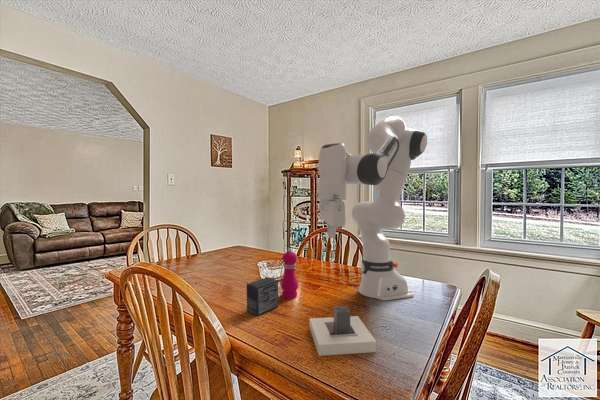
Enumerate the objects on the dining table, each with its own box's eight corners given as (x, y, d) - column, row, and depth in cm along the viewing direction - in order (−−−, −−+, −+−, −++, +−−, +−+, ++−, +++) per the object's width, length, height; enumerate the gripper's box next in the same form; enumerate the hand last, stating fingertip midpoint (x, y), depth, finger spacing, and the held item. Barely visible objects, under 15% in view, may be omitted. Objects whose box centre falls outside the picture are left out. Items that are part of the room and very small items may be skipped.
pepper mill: (296, 300, 118) (296, 250, 117) (278, 298, 120) (278, 249, 119) (299, 293, 125) (300, 246, 124) (283, 292, 127) (283, 246, 126)
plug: (346, 335, 91) (346, 306, 90) (349, 341, 87) (350, 311, 86) (333, 335, 90) (333, 306, 90) (336, 342, 86) (336, 312, 86)
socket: (357, 324, 97) (357, 315, 97) (376, 352, 81) (376, 340, 81) (309, 327, 95) (309, 317, 95) (318, 355, 79) (318, 343, 79)
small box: (266, 302, 115) (266, 276, 115) (279, 307, 111) (279, 279, 111) (245, 311, 107) (245, 283, 107) (258, 316, 103) (258, 287, 103)
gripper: (351, 195, 84) (350, 243, 85) (334, 193, 104) (333, 232, 105) (329, 195, 83) (329, 243, 84) (316, 193, 104) (316, 232, 104)
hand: (331, 237), depth 95 cm, fingers closed
